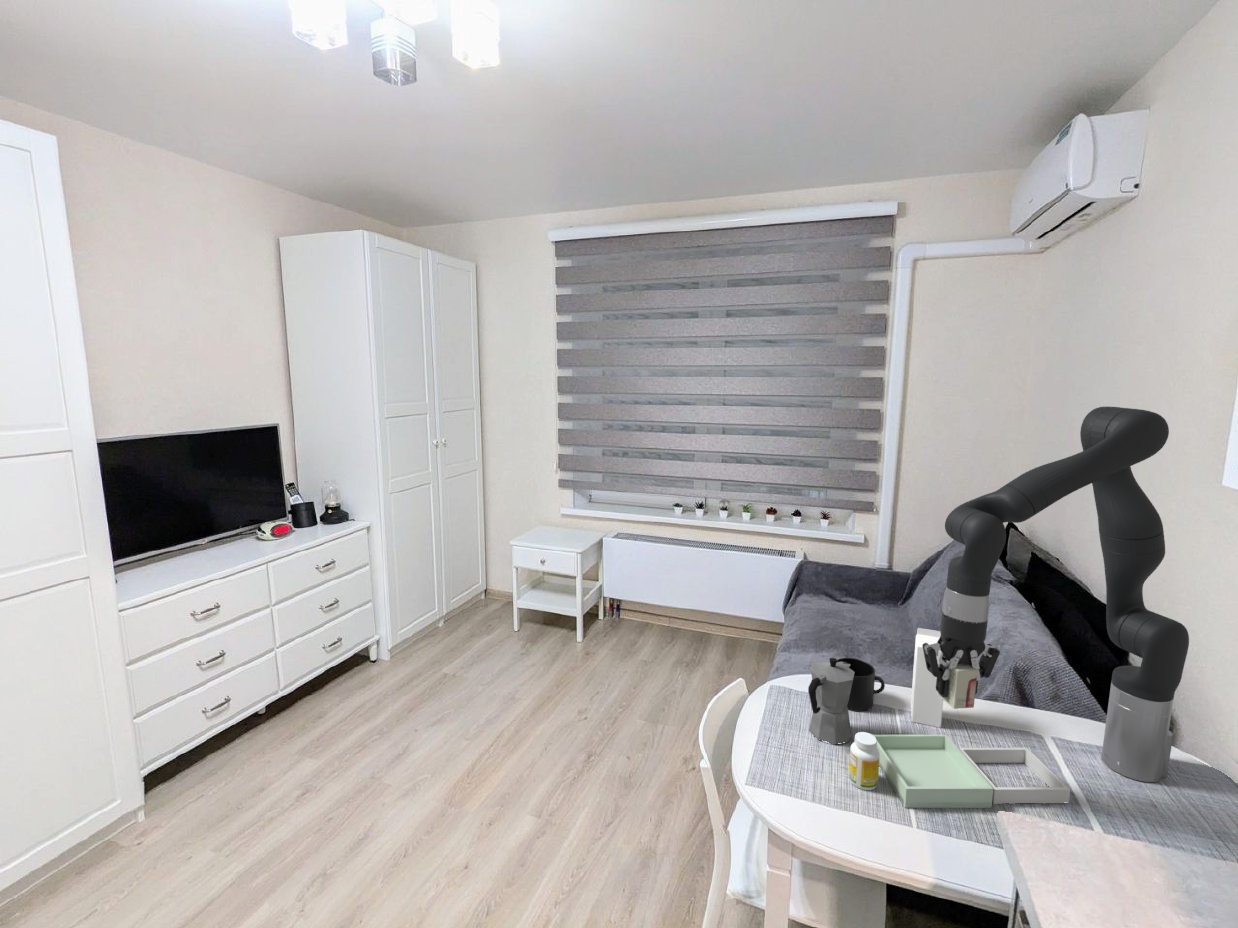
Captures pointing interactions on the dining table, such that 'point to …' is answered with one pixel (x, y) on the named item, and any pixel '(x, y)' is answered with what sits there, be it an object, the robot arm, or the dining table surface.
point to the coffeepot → (830, 700)
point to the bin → (931, 772)
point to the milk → (925, 683)
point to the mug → (862, 684)
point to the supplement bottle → (864, 761)
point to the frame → (1013, 795)
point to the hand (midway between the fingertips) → (955, 694)
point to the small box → (961, 687)
